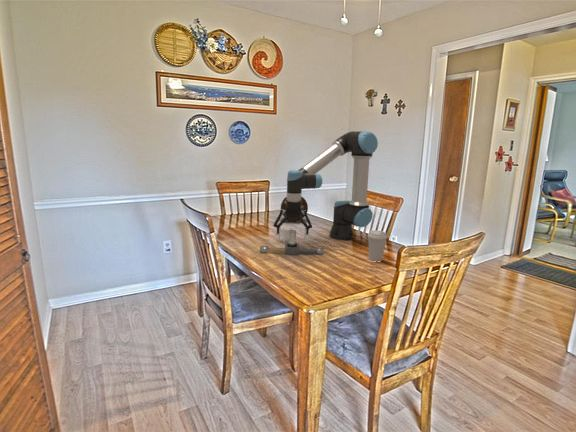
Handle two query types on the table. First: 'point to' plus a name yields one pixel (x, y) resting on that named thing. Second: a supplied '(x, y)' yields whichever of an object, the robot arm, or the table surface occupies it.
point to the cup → (284, 234)
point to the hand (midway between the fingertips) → (292, 240)
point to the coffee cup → (376, 245)
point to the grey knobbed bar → (292, 250)
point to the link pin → (292, 238)
